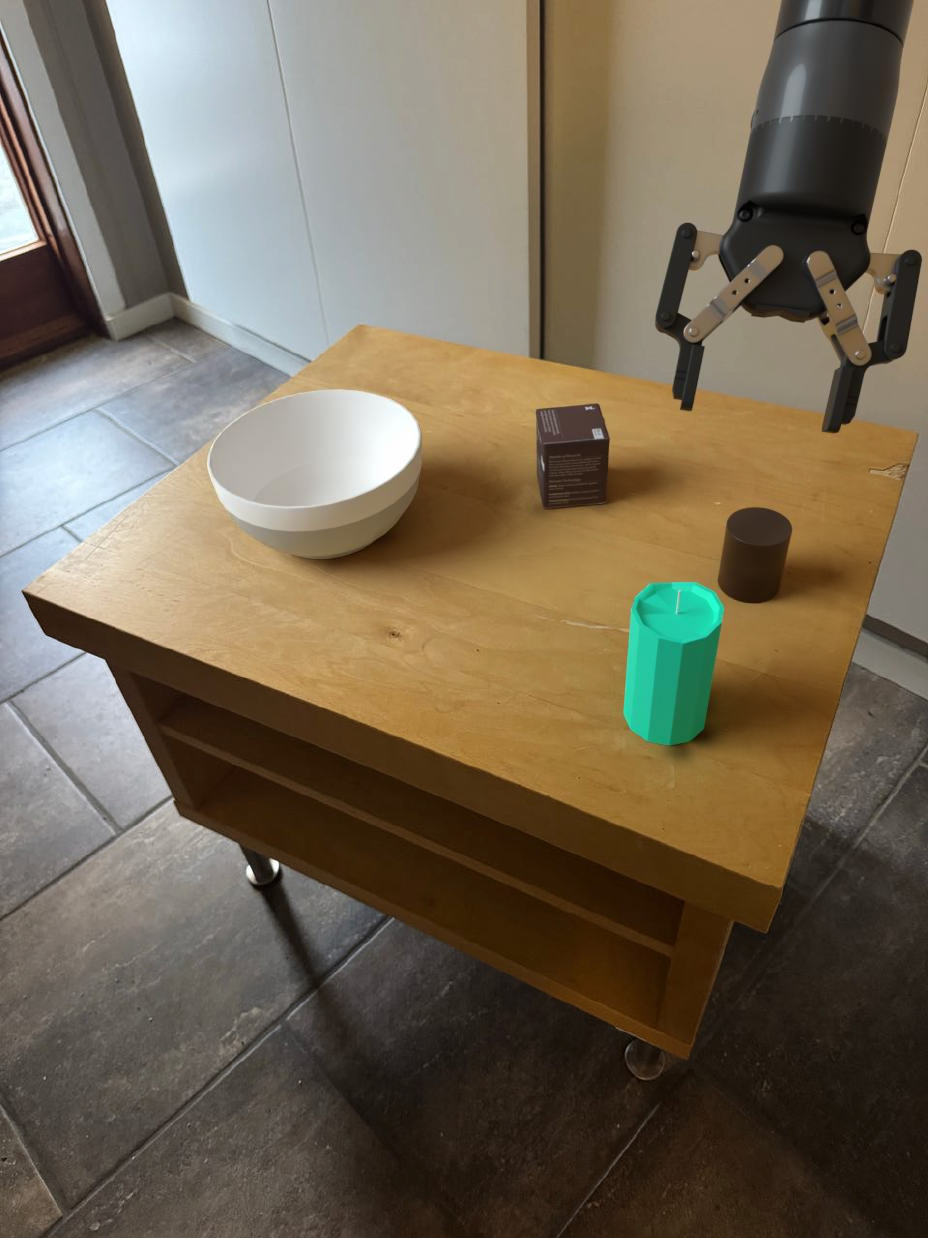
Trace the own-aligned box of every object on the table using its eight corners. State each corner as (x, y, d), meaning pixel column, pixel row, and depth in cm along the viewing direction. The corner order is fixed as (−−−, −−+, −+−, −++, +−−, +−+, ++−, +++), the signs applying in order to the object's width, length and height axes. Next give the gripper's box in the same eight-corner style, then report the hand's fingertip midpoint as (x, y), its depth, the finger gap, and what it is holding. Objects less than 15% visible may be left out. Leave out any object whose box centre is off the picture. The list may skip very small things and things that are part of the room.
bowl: (386, 605, 79) (372, 523, 73) (192, 570, 84) (164, 491, 78) (457, 479, 91) (450, 400, 85) (286, 455, 97) (268, 379, 91)
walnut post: (792, 582, 77) (805, 524, 73) (756, 611, 75) (768, 554, 71) (741, 555, 80) (751, 499, 76) (705, 584, 78) (713, 527, 74)
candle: (719, 701, 68) (741, 578, 60) (687, 757, 65) (706, 635, 57) (644, 672, 71) (655, 550, 63) (609, 725, 68) (616, 603, 59)
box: (536, 473, 91) (534, 407, 86) (597, 468, 91) (599, 401, 86) (543, 510, 87) (542, 443, 82) (607, 505, 87) (610, 437, 82)
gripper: (695, 96, 51) (638, 398, 54) (971, 123, 48) (897, 436, 51) (689, 144, 58) (639, 408, 61) (929, 169, 56) (865, 442, 59)
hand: (757, 420), depth 56 cm, fingers open, 8 cm apart
